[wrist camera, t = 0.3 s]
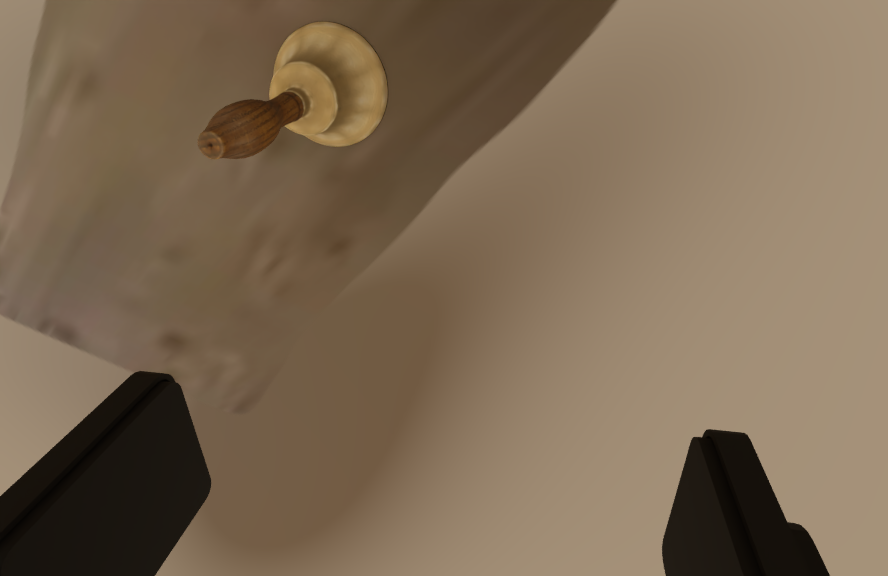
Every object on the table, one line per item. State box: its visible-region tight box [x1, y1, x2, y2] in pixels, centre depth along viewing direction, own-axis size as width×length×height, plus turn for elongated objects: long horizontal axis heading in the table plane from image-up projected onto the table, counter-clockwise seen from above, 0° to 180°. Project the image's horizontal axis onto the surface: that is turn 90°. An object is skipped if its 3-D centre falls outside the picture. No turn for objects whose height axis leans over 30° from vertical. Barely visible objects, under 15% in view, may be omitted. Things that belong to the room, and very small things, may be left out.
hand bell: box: [198, 22, 388, 159], centre depth 31 cm, size 8×8×16 cm
